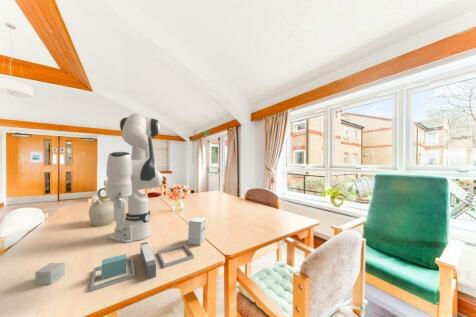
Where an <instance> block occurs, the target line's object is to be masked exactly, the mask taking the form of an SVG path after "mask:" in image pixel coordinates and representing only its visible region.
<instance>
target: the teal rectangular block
mask: <svg viewBox="0 0 476 317" xmlns="http://www.w3.org/2000/svg"><path fill="white" fill-rule="evenodd" d="M126 259H127V254H126V253H125V254H120V255H116V256H112V257H107V258H105V259H102V260H101V266H102V270H100V271H101V275H100V276H101V278H100V279H101V280H100V281H104V280H107V279H111V278H114V277H117V276H121V275H125V274H127V263H126Z"/></svg>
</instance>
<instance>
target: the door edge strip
mask: <svg viewBox="0 0 476 317" xmlns="http://www.w3.org/2000/svg"><path fill="white" fill-rule="evenodd" d="M139 247H140V249H139V251H140V253H139V255H140V257H141V262H142V266H143V267H144V268H143V270H144V272H145V276H146V279H147V280H149V279H153V278H156V277H157V262H156V258H155V255H154V254H153V250H152V248H151V246H150V244H149V242H148V241H146V242H141V243H140V246H139Z"/></svg>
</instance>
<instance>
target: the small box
mask: <svg viewBox="0 0 476 317" xmlns="http://www.w3.org/2000/svg"><path fill="white" fill-rule="evenodd" d="M65 265H66V264H65V262H52V263H51V262H50V263H49V264H47V265H45V266H44V267H41V268H40V269H39V270H36V271H35V280H34V281H35V285H38V286H40V285H41V286H42V285H43V286H44V285H46V286H47V285H52V284H54V283H55V282H56V281H57V280H60V278H62V277H64V276H65V274H66V273H65V268H66V267H65Z"/></svg>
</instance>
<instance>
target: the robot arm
mask: <svg viewBox="0 0 476 317" xmlns="http://www.w3.org/2000/svg"><path fill="white" fill-rule="evenodd" d="M119 128H120V129H119V130H120V131H121V137H122V139H123V141H124V142H125V143H126V144H128V145H129V146H132V148H131V153H129V152H126V151H115V152H111V153H109V154H108V157H107V161H106V170H105V172H106V178H107V181H106V184H105V188H106V191H105V196H106V197H108V198H109V200H110V201H113V205H114V222H116V223H115V224H116V225H115V228H114V232H113V233H112V234H110V235H109V236H108V237H109V239H110V240H114V241H117V242H121V243H125V244H127V243H131V242H136V241H142V240H144V239H147V238H149V237H151V236H152V229H151V224H150V222H151V221H150V220H151V219H150V218H151V210H150V198H149V196H147V195H146V194H143V193H142V192H140V190H142V189H143V190H145V189H146V190H147V189H155V188H159V187H160V186H161V185H162V184H163V180H164V176H163V174H162V173H161V172H160V171H159V170H158V169H157V167H158V166H157V164H156V162H155V161H156V160H155V154H154V153H155V152H154V145H153V141H152V139H154V138H155V137H156V136H158V135H159V134H160V132H161V125H160V122H159V120H158V119H155V118H154V117H153V118H149V117H144V116H143V115H142V114H140V113H131V114H130V115H128V116H127V117H123V118H122V119H121V120H120V121H119ZM126 201H127V203H126ZM126 204H127V205H126ZM126 206H127V208H126ZM126 209H127V210H128V211H127V210H126ZM126 211H127V213H126Z"/></svg>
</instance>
